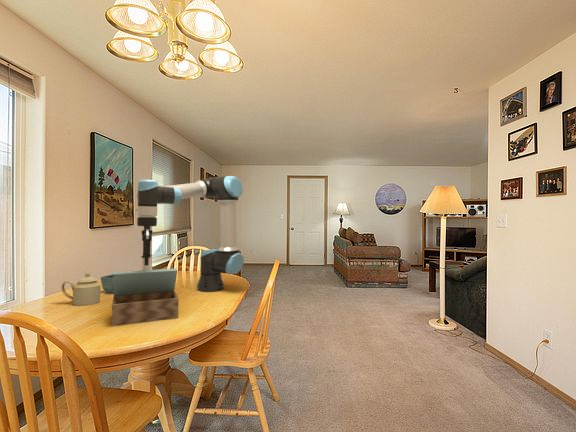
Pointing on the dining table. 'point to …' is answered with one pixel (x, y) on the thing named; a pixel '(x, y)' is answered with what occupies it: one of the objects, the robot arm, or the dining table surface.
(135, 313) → the walnut box
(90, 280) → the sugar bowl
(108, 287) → the flower pot
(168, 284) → the lid
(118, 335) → the dining table surface
